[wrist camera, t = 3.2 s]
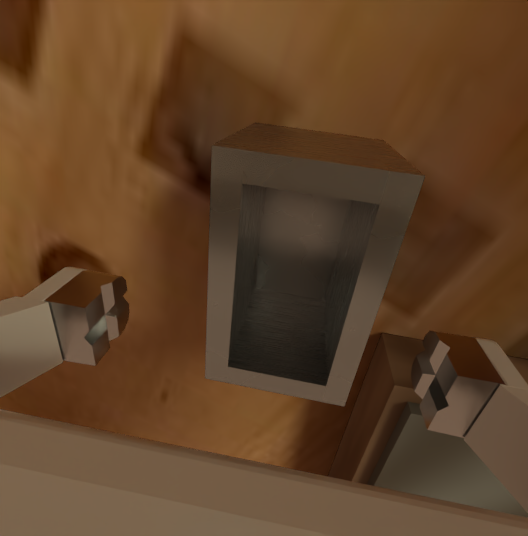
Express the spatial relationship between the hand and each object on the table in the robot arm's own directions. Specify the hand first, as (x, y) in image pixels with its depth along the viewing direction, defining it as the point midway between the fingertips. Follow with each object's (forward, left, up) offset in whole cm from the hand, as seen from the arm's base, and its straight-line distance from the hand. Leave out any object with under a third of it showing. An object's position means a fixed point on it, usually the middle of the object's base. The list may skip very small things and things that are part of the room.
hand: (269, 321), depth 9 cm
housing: (-1, 0, -7) cm, 7 cm away
